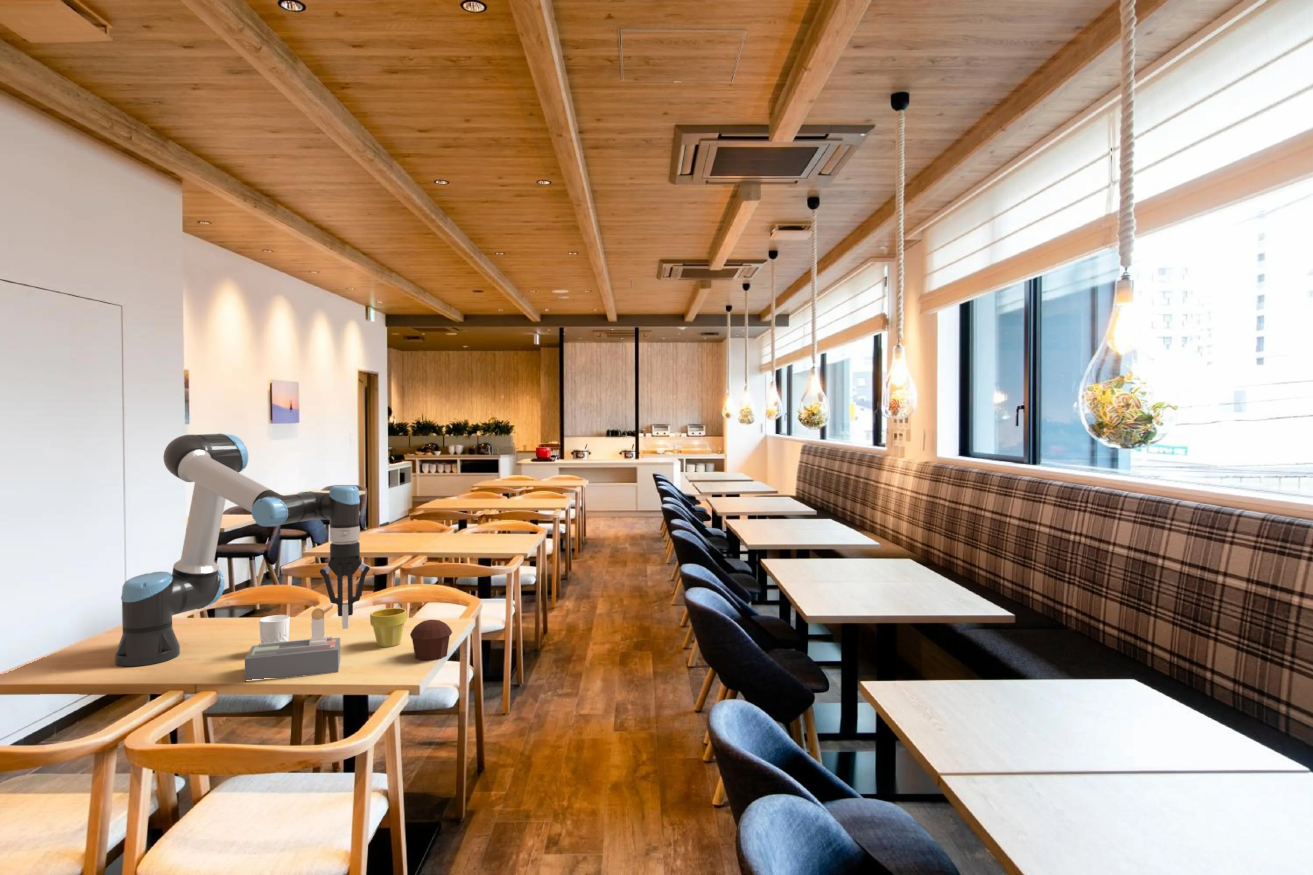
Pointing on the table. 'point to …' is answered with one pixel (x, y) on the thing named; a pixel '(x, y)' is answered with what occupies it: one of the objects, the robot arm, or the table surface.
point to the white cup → (274, 628)
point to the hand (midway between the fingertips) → (345, 627)
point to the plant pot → (388, 626)
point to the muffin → (430, 640)
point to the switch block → (292, 659)
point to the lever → (318, 628)
